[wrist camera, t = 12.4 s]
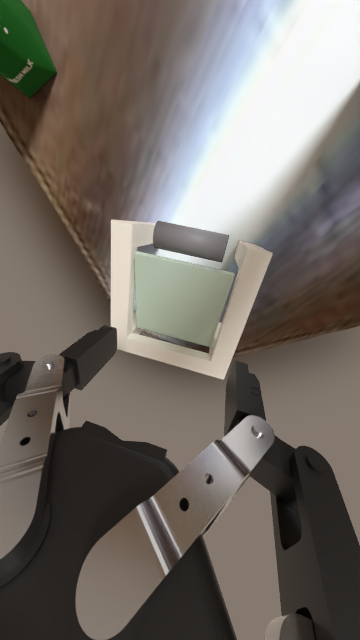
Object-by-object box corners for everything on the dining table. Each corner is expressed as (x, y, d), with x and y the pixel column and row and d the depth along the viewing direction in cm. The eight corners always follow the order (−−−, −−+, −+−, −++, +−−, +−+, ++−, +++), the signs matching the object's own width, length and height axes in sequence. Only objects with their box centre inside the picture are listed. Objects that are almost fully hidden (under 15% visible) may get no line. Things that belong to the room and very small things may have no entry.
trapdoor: (148, 216, 28) (133, 223, 24) (243, 235, 26) (244, 247, 22) (147, 311, 39) (136, 327, 35) (213, 328, 38) (210, 347, 34)
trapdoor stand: (151, 222, 38) (111, 219, 25) (254, 243, 36) (272, 253, 23) (142, 313, 48) (110, 347, 34) (223, 334, 46) (223, 379, 32)
